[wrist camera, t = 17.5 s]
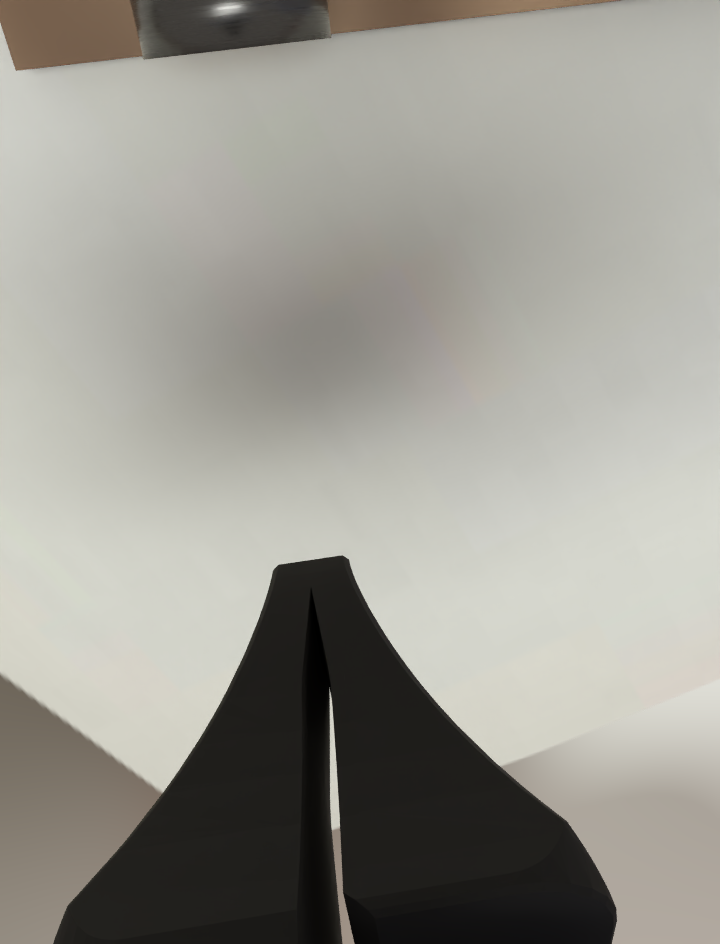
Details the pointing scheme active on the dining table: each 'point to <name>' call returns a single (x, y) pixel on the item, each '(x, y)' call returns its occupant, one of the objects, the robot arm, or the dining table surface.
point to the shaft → (225, 24)
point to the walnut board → (115, 36)
